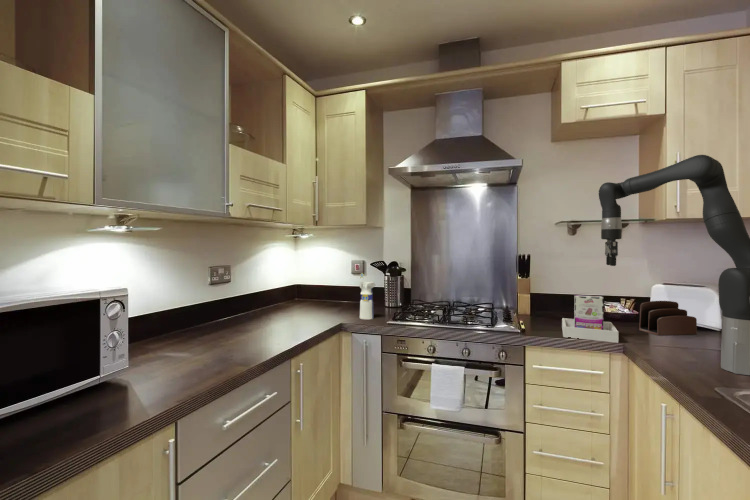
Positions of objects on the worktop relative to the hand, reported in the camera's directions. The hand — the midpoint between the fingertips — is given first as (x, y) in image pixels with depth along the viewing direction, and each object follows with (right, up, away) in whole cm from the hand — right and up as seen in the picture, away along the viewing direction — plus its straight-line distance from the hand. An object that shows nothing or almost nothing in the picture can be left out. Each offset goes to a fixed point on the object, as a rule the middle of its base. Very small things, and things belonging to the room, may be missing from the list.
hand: (611, 265), depth 158 cm
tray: (-8, -31, +3) cm, 32 cm away
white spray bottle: (-108, -30, +36) cm, 118 cm away
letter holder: (+31, -32, +8) cm, 45 cm away
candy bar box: (-8, -30, +3) cm, 32 cm away
